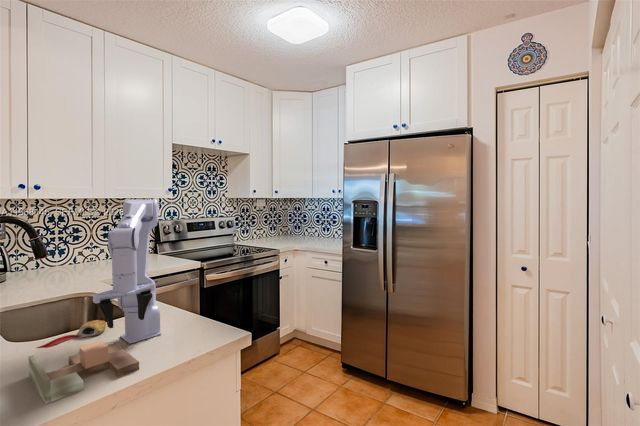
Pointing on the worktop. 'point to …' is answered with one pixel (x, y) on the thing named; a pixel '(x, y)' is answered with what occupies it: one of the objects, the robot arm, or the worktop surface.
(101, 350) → the block
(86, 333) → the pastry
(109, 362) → the blocky structure
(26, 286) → the worktop surface
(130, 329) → the robot arm
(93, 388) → the worktop surface
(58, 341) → the cayenne pepper
